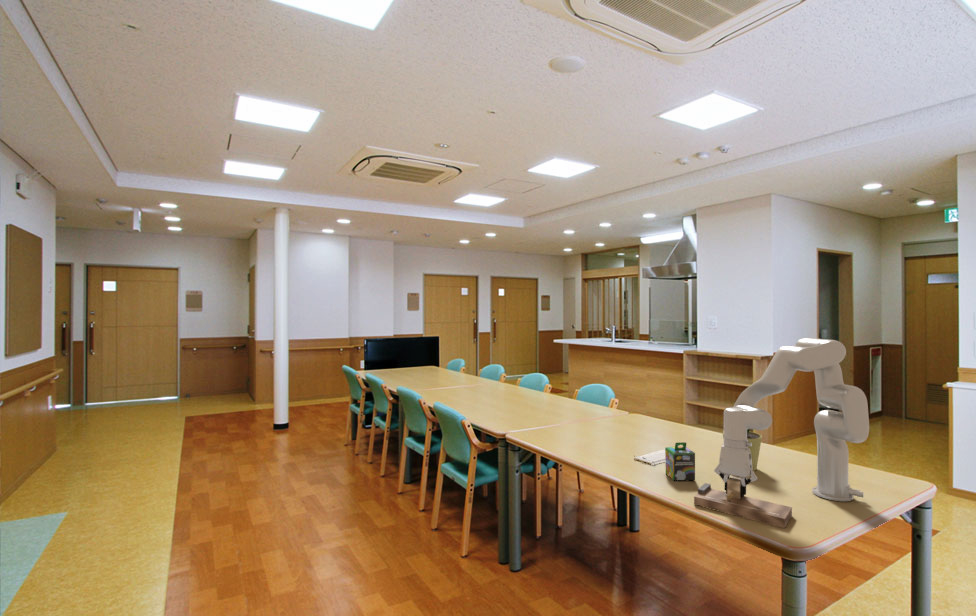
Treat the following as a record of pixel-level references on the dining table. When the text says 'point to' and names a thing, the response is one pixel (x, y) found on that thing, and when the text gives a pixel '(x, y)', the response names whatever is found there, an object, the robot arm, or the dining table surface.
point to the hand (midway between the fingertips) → (735, 493)
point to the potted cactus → (753, 447)
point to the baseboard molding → (652, 457)
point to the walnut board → (744, 506)
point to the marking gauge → (733, 488)
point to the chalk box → (680, 462)
